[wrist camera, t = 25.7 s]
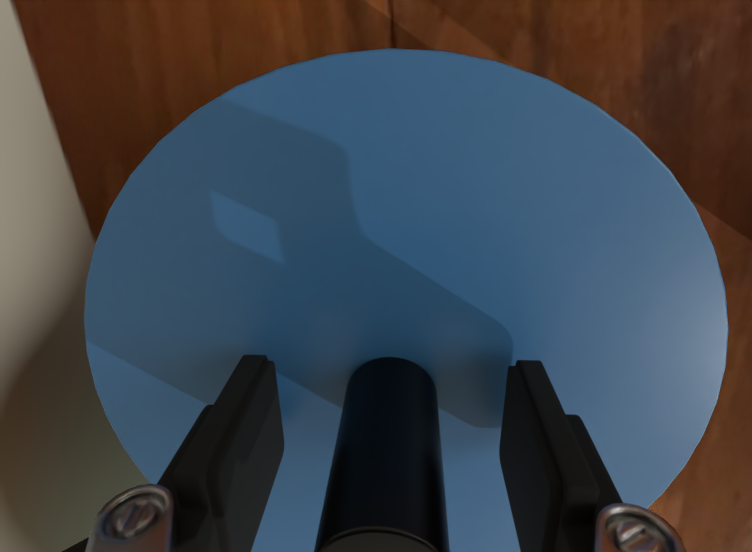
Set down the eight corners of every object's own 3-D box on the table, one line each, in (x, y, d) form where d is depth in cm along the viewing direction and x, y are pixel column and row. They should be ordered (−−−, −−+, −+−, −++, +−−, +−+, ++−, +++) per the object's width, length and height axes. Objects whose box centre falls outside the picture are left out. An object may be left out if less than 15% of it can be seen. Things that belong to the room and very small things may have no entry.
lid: (170, 553, 17) (55, 781, 12) (30, 59, 11) (-378, 45, 5) (634, 576, 16) (752, 841, 11) (794, 39, 10) (1323, -7, 4)
